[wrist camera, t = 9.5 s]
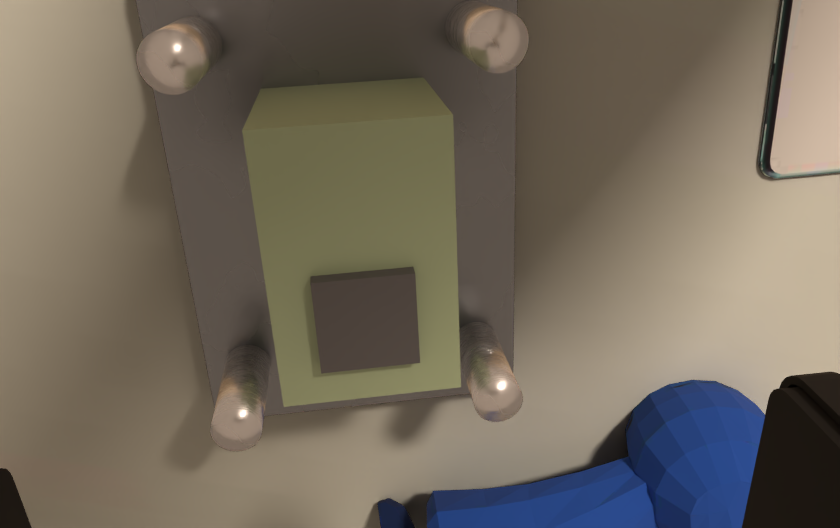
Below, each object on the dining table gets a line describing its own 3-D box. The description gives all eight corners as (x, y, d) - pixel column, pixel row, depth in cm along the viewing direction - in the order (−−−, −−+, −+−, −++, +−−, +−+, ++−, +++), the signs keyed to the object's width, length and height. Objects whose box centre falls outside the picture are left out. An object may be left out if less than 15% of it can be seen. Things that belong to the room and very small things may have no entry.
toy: (421, 580, 30) (764, 473, 30) (437, 726, 25) (861, 599, 24) (366, 462, 28) (743, 340, 27) (370, 597, 22) (848, 447, 21)
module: (260, 88, 20) (240, 134, 15) (423, 77, 20) (455, 118, 15) (291, 314, 22) (282, 416, 18) (433, 300, 23) (463, 396, 18)
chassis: (139, -39, 19) (86, -36, 15) (507, -56, 20) (557, -58, 16) (221, 400, 25) (200, 494, 20) (504, 370, 26) (541, 453, 21)
